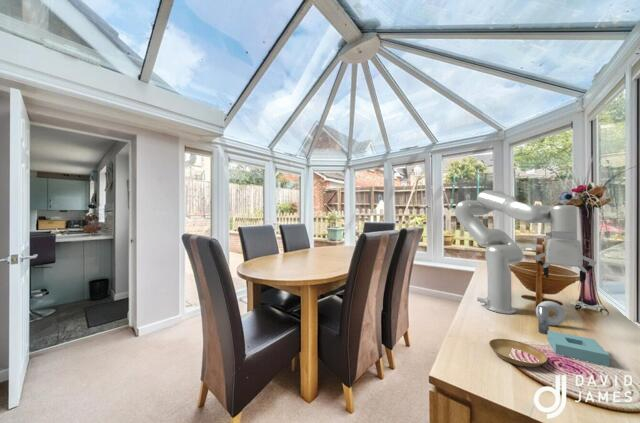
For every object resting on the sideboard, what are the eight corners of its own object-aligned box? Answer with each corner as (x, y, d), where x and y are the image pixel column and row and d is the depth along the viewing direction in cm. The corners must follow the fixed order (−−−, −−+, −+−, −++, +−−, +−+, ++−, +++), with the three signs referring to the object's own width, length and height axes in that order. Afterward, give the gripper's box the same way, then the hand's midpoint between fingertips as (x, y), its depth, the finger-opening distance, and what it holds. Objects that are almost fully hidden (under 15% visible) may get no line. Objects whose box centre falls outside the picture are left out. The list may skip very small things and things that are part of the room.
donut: (563, 325, 104) (562, 301, 104) (568, 328, 101) (567, 304, 101) (534, 321, 107) (533, 298, 108) (538, 325, 104) (537, 301, 104)
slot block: (555, 354, 81) (555, 343, 81) (547, 339, 91) (547, 330, 91) (609, 367, 75) (609, 355, 75) (594, 349, 85) (594, 339, 85)
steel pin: (539, 333, 97) (538, 307, 97) (537, 330, 99) (537, 305, 100) (549, 335, 95) (549, 308, 95) (547, 332, 98) (547, 306, 98)
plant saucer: (553, 378, 70) (553, 368, 70) (490, 361, 77) (490, 353, 77) (541, 354, 82) (541, 346, 82) (487, 341, 90) (487, 334, 90)
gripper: (534, 235, 101) (534, 277, 101) (597, 238, 89) (597, 285, 89) (534, 234, 107) (535, 274, 106) (594, 237, 95) (595, 281, 95)
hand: (563, 279), depth 98 cm, fingers open, 9 cm apart
